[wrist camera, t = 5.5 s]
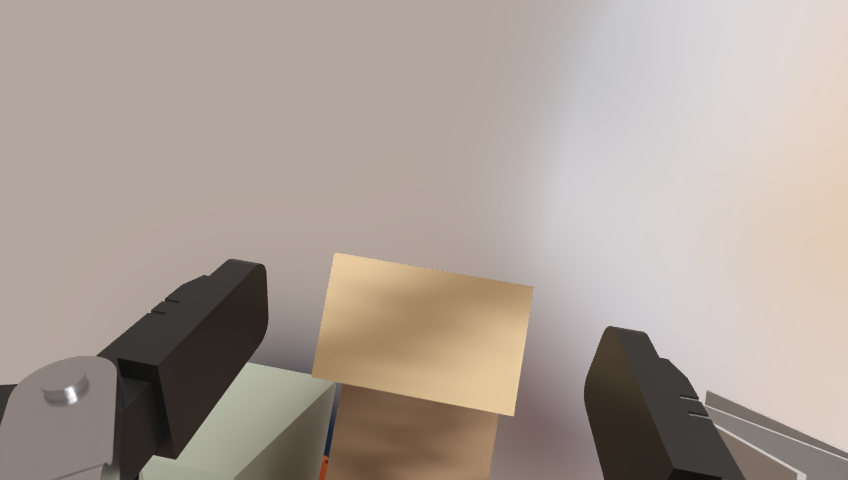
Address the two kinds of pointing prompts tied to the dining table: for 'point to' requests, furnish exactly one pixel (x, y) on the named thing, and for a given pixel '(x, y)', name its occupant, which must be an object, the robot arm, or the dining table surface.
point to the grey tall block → (773, 445)
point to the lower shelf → (257, 431)
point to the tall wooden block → (408, 438)
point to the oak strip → (423, 333)
